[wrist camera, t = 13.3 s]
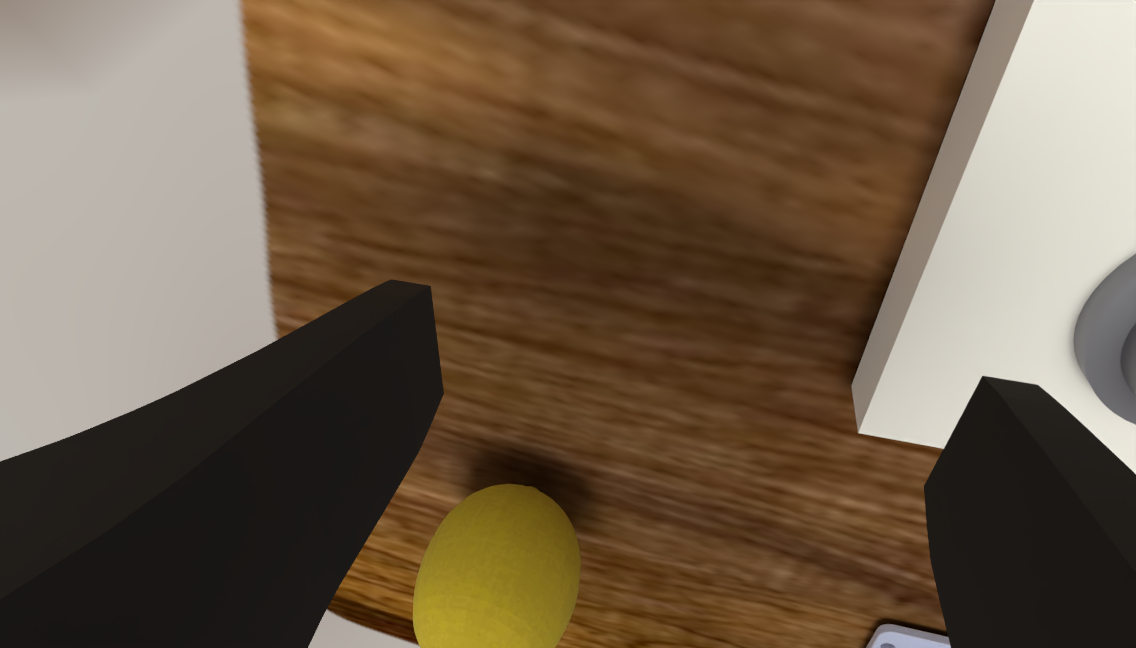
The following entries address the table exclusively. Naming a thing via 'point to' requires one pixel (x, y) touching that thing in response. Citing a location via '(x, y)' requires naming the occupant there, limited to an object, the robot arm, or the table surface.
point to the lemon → (498, 573)
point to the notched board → (1021, 236)
